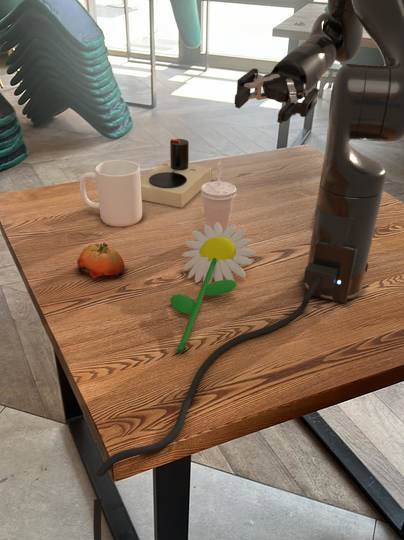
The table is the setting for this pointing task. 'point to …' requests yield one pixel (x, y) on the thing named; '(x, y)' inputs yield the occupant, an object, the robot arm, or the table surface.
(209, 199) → the smoothie
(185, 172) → the hob
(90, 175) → the cup
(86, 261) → the tomato
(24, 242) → the table surface
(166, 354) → the table surface
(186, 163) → the stove knob
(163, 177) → the burner ring
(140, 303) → the table surface
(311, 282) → the robot arm
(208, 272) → the decorative flower
